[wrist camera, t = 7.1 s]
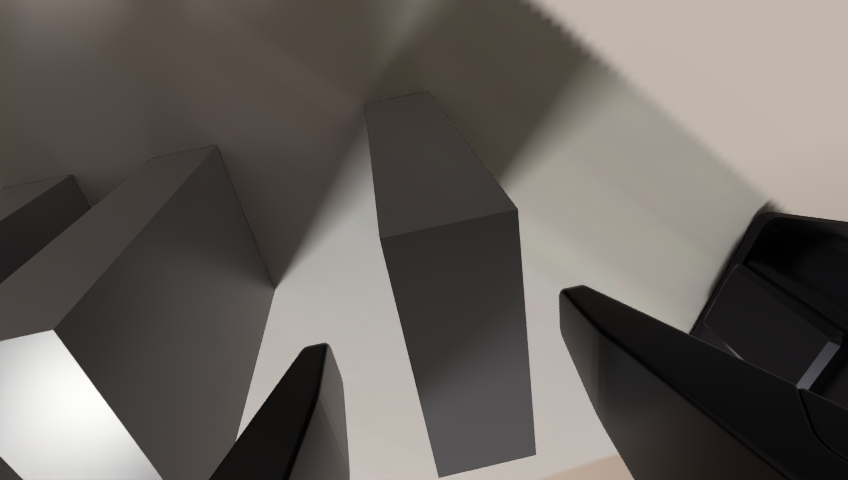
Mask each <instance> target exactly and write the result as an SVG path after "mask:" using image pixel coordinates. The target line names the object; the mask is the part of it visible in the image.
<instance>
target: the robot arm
mask: <svg viewBox="0 0 848 480" xmlns="http://www.w3.org/2000/svg"><path fill="white" fill-rule="evenodd" d="M559 312H560V330H561V334H562V337H563V340H564V342H565V344H566V346H567V349H568V351H569V353H570V356H571V358H572V360H573V362H574V365H575V367H576V369H577V371H578V374H579V376H580V378H581V380H582V383H583V385H584V387H585V390H586V392H587V394H588V396H589V399H590V401H591V403H592V405H593V407H594V410H595V412H596V414H597V416H598V418H599V419H600V421H601V423H602V425H603V427H604V428H605V430H606V432H607V434H608V435H609V437H610V439H611V440H612V442H613V444H614V446H615V447H616V449H617V451H618V452H619V454H620V456H621V458H622V459H623V461H624V462H625V465H626V466H627V468H628V470H629V471H630V473H631V475H632V477H633V478H634V480H848V222H844V221H836V220H828V219H822V218H814V217H806V216H799V215H791V214H783V213H776V212H767V213H765V214H762V215H761V216H759V217H758V218H757V219H756V220H755V222H754V223H753V225H752V226H751V228H750V230H749V232H748V234H747V235H746V237H745V239H744V241H743V243H742V244H741V246H740V248H739V250H738V252H737V253H736V255H735V257H734V259H733V261H732V262H731V264H730V266H729V268H728V270H727V271H726V273H725V275H724V277H723V279H722V280H721V282H720V284H719V286H718V288H717V289H716V291H715V293H714V295H713V297H712V298H711V300H710V302H709V304H708V305H707V307H706V309H705V311H704V313H703V314H702V316H701V318H700V320H699V322H698V323H697V325H696V327H695V329H694V331H693V332H692V334H691V335H689V334H687V333H685V332H683V331H681V330H679V329H677V328H674V327H672V326H670V325H668V324H666V323H664V322H662V321H660V320H657V319H655V318H653V317H651V316H649V315H647V314H645V313H643V312H640V311H638V310H636V309H634V308H632V307H630V306H628V305H626V304H623V303H621V302H619V301H617V300H615V299H613V298H611V297H609V296H606V295H604V294H602V293H600V292H598V291H596V290H594V289H592V288H589V287H587V286H584V285H578V286H574V287H570V288H565V289H562V291H561V292H560V295H559ZM349 479H350V472H349V454H348V441H347V428H346V415H345V402H344V390H343V383H342V378H341V375H340V372H339V369H338V366H337V363H336V361H335V358H334V355H333V352H332V349H331V347H330V345H329V344H327V343H320V344H316V345H311V346H307V347H305V348H304V349H303V350H302V351H301V352H300V354H299V355H298V356H297V358H296V359H295V361H294V362H293V363H292V365H291V366H290V367H289V369H288V370H287V372H286V373H285V374H284V376H283V377H282V379H281V380H280V381H279V383H278V384H277V385H276V387H275V388H274V390H273V391H272V392H271V394H270V395H269V397H268V398H267V399H266V401H265V402H264V404H263V405H262V406H261V408H260V409H259V410H258V412H257V413H256V415H255V416H254V417H253V419H252V420H251V422H250V423H249V424H248V426H247V427H246V428H245V430H244V431H243V433H242V434H241V435H240V437H239V438H238V440H237V441H236V442H235V444H234V445H233V447H232V448H231V449H230V451H229V452H228V453H227V455H226V456H225V458H224V459H223V460H222V462H221V463H220V465H219V466H218V467H217V469H216V470H215V472H214V473H213V474H212V476H211V477H210V478H209V480H349Z"/></svg>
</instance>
